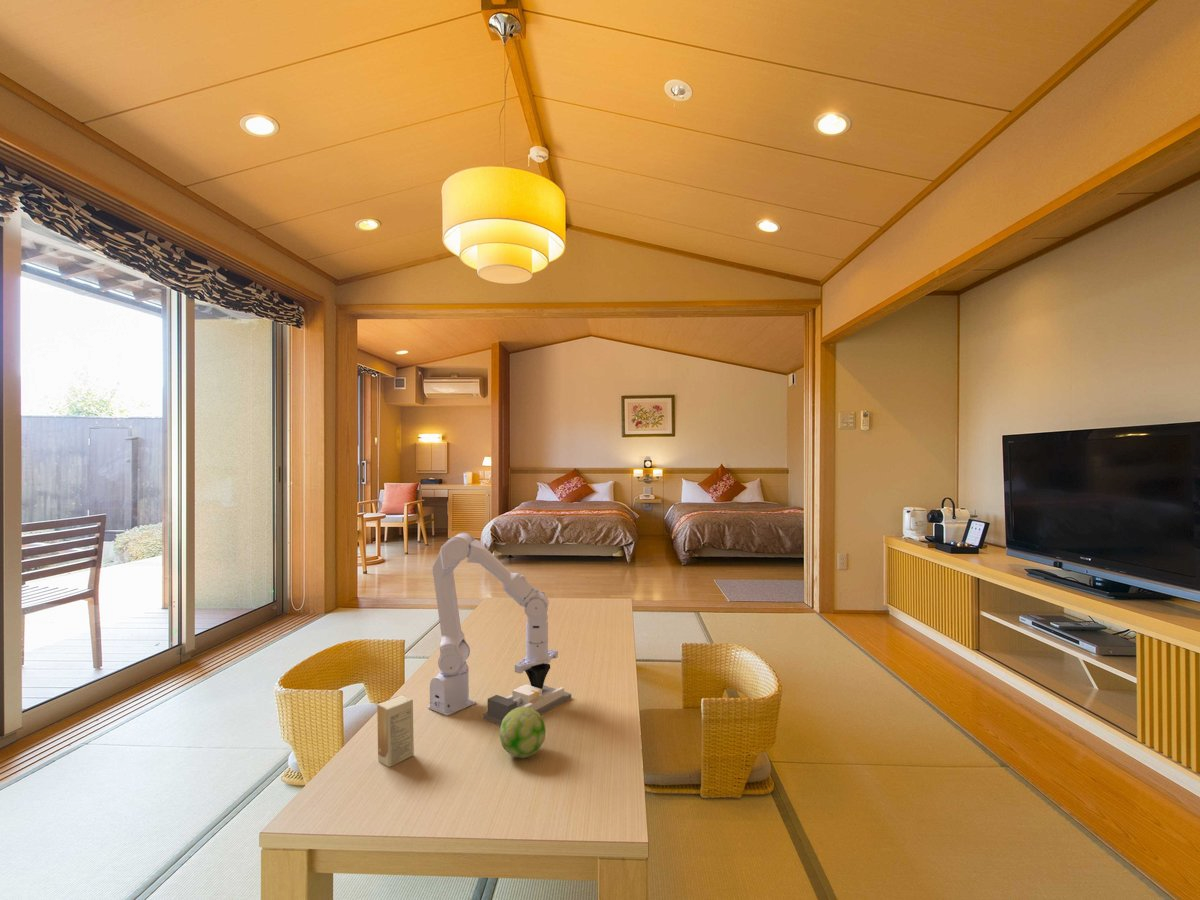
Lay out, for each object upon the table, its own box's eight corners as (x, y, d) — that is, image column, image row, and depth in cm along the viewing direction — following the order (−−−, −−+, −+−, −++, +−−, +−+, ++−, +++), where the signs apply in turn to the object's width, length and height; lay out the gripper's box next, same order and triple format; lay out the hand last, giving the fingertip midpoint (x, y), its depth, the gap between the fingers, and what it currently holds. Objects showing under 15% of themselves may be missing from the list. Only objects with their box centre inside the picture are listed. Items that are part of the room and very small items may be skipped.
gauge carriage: (524, 715, 141) (524, 699, 141) (504, 708, 145) (504, 692, 145) (546, 704, 147) (546, 689, 147) (525, 697, 151) (525, 682, 151)
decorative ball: (502, 770, 119) (502, 721, 119) (497, 747, 128) (497, 701, 129) (549, 763, 121) (549, 715, 122) (541, 741, 131) (541, 696, 131)
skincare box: (403, 749, 127) (403, 693, 128) (414, 756, 125) (414, 698, 125) (376, 761, 122) (376, 703, 123) (387, 768, 120) (387, 708, 120)
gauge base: (512, 729, 136) (512, 707, 137) (483, 718, 142) (483, 697, 142) (571, 698, 154) (571, 678, 154) (543, 689, 160) (543, 670, 160)
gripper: (529, 650, 143) (529, 706, 143) (566, 636, 154) (566, 687, 154) (508, 645, 147) (508, 699, 147) (546, 631, 159) (546, 681, 158)
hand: (537, 692), depth 151 cm, fingers closed
